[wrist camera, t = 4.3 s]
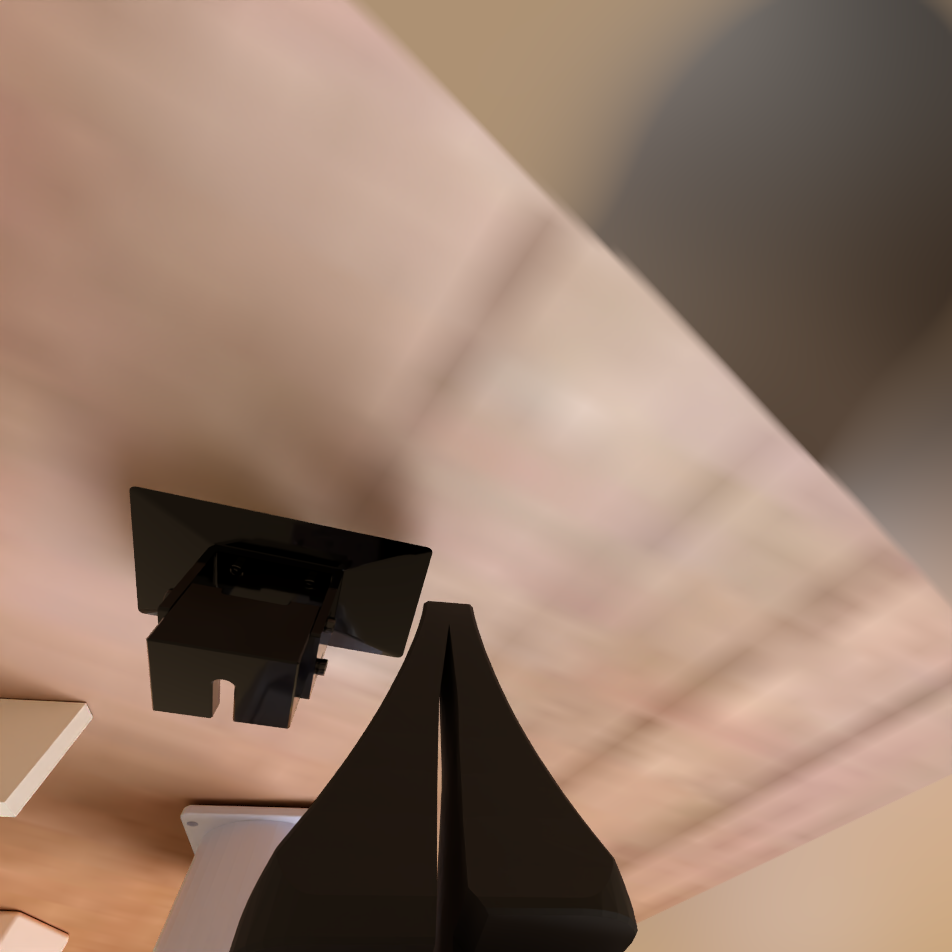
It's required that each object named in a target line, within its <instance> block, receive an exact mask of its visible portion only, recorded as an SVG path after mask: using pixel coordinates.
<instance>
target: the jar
mask: <svg viewBox="0 0 952 952" xmlns="http://www.w3.org/2000/svg"><path fill="white" fill-rule="evenodd" d="M68 940H69V935H68V934H66V933H64V932H62V931H60V930H58V929H56V928H54V927H51V926H49V925H47V924H45V923H43V922H41V921H39V920H36V919H34V918H32V917H30V916H28V915H26V914H24V913H21V912H17V911H0V952H62V951H63V949H64V947H65V945H66V944H67V942H68Z"/></svg>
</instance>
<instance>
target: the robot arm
mask: <svg viewBox="0 0 952 952" xmlns="http://www.w3.org/2000/svg"><path fill="white" fill-rule="evenodd" d="M439 697H440V728H441V760H442V793H441V814H440V834H439V854H438V873H437V769H438V722H439ZM180 818H181V821H182V823H183V826H184V828H185V831H186V834H187V836H188V839H189V841H190V844H191V847H192V849H193V852H194V854H195V855H194V858H193V860H192V862H191V865H190V867H189V869H188V871H187V874H186V876H185V878H184V881H183V883H182V885H181V888H180V890H179V892H178V894H177V897H176V899H175V901H174V904H173V906H172V908H171V910H170V913H169V915H168V917H167V920H166V922H165V924H164V926H163V929H162V931H161V933H160V936H159V938H158V940H157V943H156V945H155V947H154V949H153V952H624V951H625V950H626V949H627V947H628V946H629V945H630V944H631V943H632V941H633V939H634V938H635V936H636V933H637V931H638V930H637V925H636V920H635V916H634V911H633V908H632V905H631V901H630V898H629V896H628V893H627V890H626V887H625V884H624V882H623V879H622V876H621V874H620V871H619V869H618V866H617V864H616V862H615V859H614V858H613V856H612V855H611V854H610V853H609V851H608V850H607V849H606V848H605V847H604V845H603V844H602V843H601V842H600V840H599V839H598V838H597V837H596V836H595V834H594V833H593V832H592V830H591V829H590V828H589V827H588V825H587V824H586V823H585V821H584V820H583V819H582V818H581V816H580V815H579V814H578V812H577V811H576V810H575V808H574V807H573V805H572V804H571V803H570V801H569V800H568V799H567V797H566V796H565V795H564V793H563V792H562V790H561V789H560V787H559V786H558V784H557V783H556V781H555V780H554V778H553V777H552V775H551V774H550V772H549V771H548V770H547V768H546V767H545V765H544V764H543V762H542V761H541V759H540V758H539V756H538V754H537V753H536V751H535V749H534V748H533V746H532V744H531V743H530V741H529V740H528V738H527V736H526V734H525V733H524V731H523V729H522V727H521V726H520V724H519V722H518V720H517V718H516V717H515V715H514V713H513V711H512V709H511V707H510V705H509V703H508V701H507V699H506V697H505V695H504V693H503V691H502V688H501V686H500V684H499V682H498V680H497V677H496V675H495V673H494V670H493V668H492V666H491V663H490V661H489V658H488V656H487V653H486V651H485V648H484V645H483V642H482V639H481V636H480V634H479V630H478V627H477V624H476V620H475V616H474V612H473V607H472V606H471V605H470V604H458V603H446V602H433V601H427V602H426V603H424V606H423V612H422V616H421V620H420V623H419V626H418V629H417V632H416V634H415V637H414V640H413V642H412V644H411V646H410V649H409V651H408V653H407V656H406V658H405V660H404V662H403V664H402V667H401V669H400V670H399V672H398V674H397V676H396V678H395V680H394V682H393V684H392V686H391V688H390V690H389V692H388V693H387V695H386V697H385V699H384V700H383V702H382V704H381V706H380V707H379V709H378V711H377V712H376V714H375V716H374V717H373V719H372V721H371V722H370V724H369V725H368V727H367V728H366V730H365V732H364V733H363V735H362V736H361V738H360V739H359V741H358V742H357V744H356V745H355V747H354V748H353V750H352V751H351V753H350V754H349V755H348V757H347V758H346V760H345V761H344V763H343V764H342V765H341V767H340V768H339V769H338V771H337V772H336V773H335V775H334V776H333V777H332V779H331V780H330V781H329V783H328V784H327V785H326V787H325V788H324V789H323V791H322V792H321V793H320V795H319V796H318V797H317V799H316V800H315V801H314V802H313V804H312V805H311V806H310V807H309V808H282V807H248V806H214V805H189V806H186V807H185V808H184V809H183V811H182V813H181V815H180Z"/></svg>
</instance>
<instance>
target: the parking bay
mask: <svg viewBox="0 0 952 952" xmlns="http://www.w3.org/2000/svg"><path fill="white" fill-rule="evenodd" d="M92 719H93V717H92V714H91V712H90V710H89V708H88V706H87V704H86V703H76V702H56V701H36V700H17V699H0V817H16V816H17V815H18V813H19V812H20V811H21V810H22V808H23V807H24V806H25V804H26V803H27V802H28V801H29V799H30V798H31V797H32V796H33V794H34V793H35V792H36V790H37V789H38V788H39V787H40V785H41V784H42V783H43V781H44V780H45V779H46V778H47V776H48V775H49V774H50V772H51V771H52V770H53V769H54V767H55V766H56V765H57V763H58V762H59V761H60V760H61V758H62V757H63V756H64V754H65V753H66V752H67V751H68V749H69V748H70V747H71V746H72V744H73V743H74V742H75V740H76V739H77V738H78V737H79V735H80V734H81V733H82V731H83V730H84V729H85V728H86V726H87V725H88V724H89V722H90V721H91V720H92Z"/></svg>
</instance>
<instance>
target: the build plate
mask: <svg viewBox="0 0 952 952" xmlns="http://www.w3.org/2000/svg"><path fill="white" fill-rule="evenodd" d="M130 503H131V517H132V531H133V545H134V558H135V572H136V586H137V600H138V610H139V611H140V612H142V613H144V614H150V615H156V616H158V625H157V626H156V627H155V629H154V630H153V631H152V632H151V634H150V635H149V636H148V637H147V639H146V641H147V652H148V664H149V675H150V686H151V697H152V708H153V710H155V711H162V712H169V713H177V714H184V715H191V716H199V717H206V718H211V717H213V715H214V713H215V711H216V709H217V707H218V705H219V703H220V679H223V680H227V681H230V682H231V683H233V684H234V686H235V691H234V710H233V720H234V721H235V722H243V723H250V724H257V725H265V726H272V727H279V728H289V727H290V725H291V722H292V719H293V716H294V713H295V711H296V708H297V705H298V702H299V699H300V698H304V699H310V696H311V693H312V690H313V687H314V684H315V681H316V678H317V675H322V676H324V674H325V671H326V668H327V664H328V660H327V659H323V657H324V654H325V651H326V648H327V645H328V646H334V647H340V648H345V649H351V650H357V651H363V652H369V653H374V654H380V655H386V656H392V657H401V656H402V655H403V653H404V649H405V646H406V642H407V639H408V635H409V632H410V628H411V625H412V621H413V618H414V615H415V611H416V608H417V604H418V601H419V597H420V594H421V590H422V587H423V583H424V580H425V576H426V573H427V570H428V566H429V563H430V559H431V556H432V550H431V549H430V548H428V547H423V546H419V545H414V544H409V543H404V542H399V541H394V540H390V539H385V538H380V537H375V536H370V535H366V534H361V533H356V532H351V531H346V530H342V529H337V528H332V527H327V526H322V525H318V524H313V523H308V522H303V521H298V520H294V519H289V518H284V517H279V516H274V515H270V514H265V513H260V512H255V511H250V510H246V509H241V508H236V507H231V506H226V505H222V504H217V503H212V502H207V501H202V500H198V499H193V498H188V497H183V496H178V495H173V494H169V493H164V492H159V491H154V490H149V489H145V488H140V487H131V488H130Z"/></svg>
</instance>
